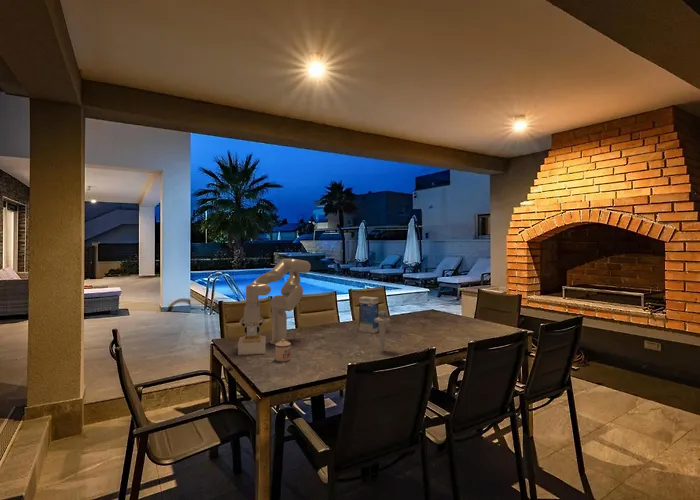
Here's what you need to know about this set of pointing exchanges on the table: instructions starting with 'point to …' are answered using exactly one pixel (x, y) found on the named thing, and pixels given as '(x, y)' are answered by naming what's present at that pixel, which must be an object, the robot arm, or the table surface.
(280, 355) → the teacup with lid
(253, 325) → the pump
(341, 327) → the table surface
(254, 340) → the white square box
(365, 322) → the string lights box
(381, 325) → the novelty light stick
